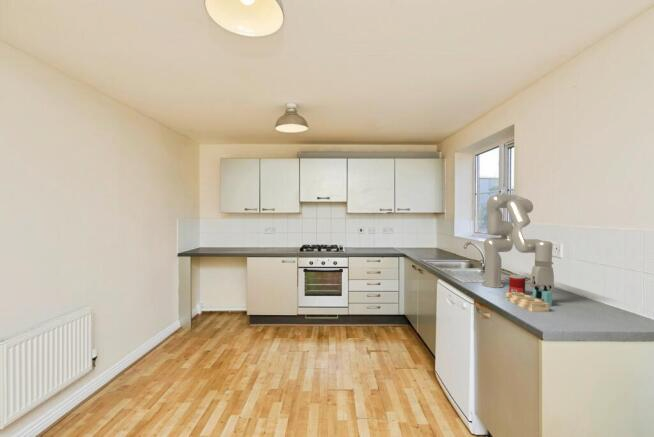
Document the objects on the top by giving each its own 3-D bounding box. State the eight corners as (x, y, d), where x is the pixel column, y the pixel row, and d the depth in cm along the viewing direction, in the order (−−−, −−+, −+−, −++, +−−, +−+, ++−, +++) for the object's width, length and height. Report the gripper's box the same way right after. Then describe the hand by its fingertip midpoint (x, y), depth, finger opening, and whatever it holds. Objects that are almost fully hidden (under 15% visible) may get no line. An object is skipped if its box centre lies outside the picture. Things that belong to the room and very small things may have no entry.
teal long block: (532, 300, 174) (532, 288, 173) (537, 300, 174) (537, 288, 173) (546, 306, 164) (546, 293, 163) (551, 306, 164) (551, 293, 164)
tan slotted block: (505, 299, 175) (506, 292, 174) (521, 299, 175) (521, 292, 175) (531, 311, 155) (532, 303, 154) (549, 311, 155) (549, 303, 155)
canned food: (527, 296, 181) (527, 277, 180) (511, 295, 183) (512, 277, 182) (521, 293, 188) (522, 275, 188) (507, 292, 190) (507, 274, 190)
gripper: (552, 262, 172) (550, 295, 173) (523, 262, 171) (522, 296, 172) (563, 265, 165) (561, 300, 165) (533, 265, 164) (532, 300, 164)
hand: (541, 297), depth 169 cm, fingers closed on teal long block, 2 cm apart
